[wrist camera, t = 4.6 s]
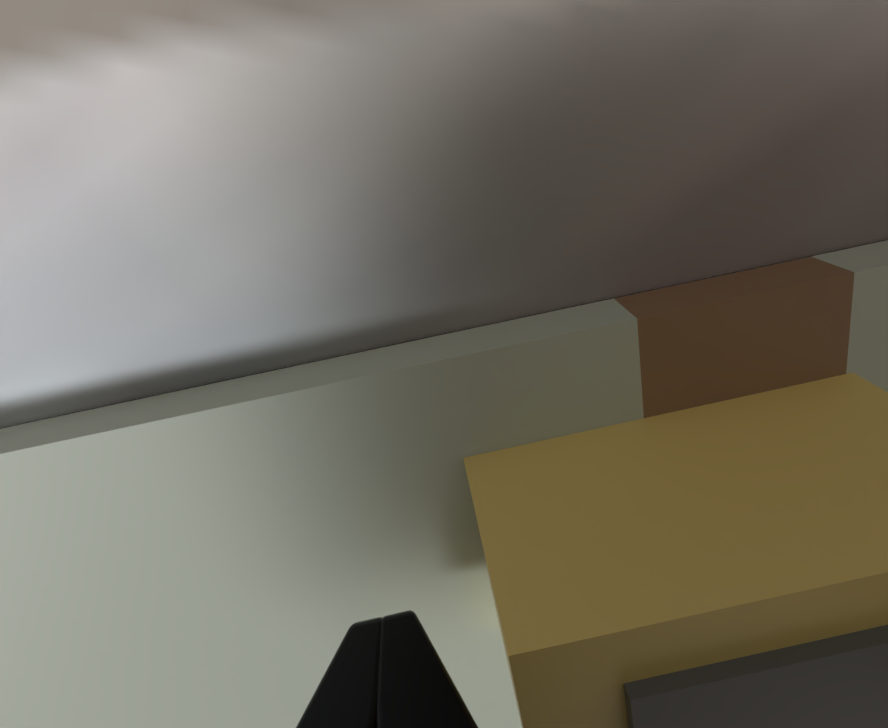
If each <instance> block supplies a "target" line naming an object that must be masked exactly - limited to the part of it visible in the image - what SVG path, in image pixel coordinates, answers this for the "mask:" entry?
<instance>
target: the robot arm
mask: <svg viewBox="0 0 888 728" xmlns="http://www.w3.org/2000/svg"><path fill="white" fill-rule="evenodd" d="M296 728H478V726H477V724H476V722H475V721H474V719H473V717H472V715H471V713H470V712H469V710H468V708H467V706H466V704H465V702H464V701H463V699H462V697H461V695H460V693H459V691H458V690H457V688H456V686H455V684H454V682H453V681H452V679H451V677H450V675H449V673H448V671H447V670H446V668H445V666H444V664H443V662H442V661H441V659H440V657H439V655H438V653H437V651H436V650H435V648H434V646H433V644H432V642H431V641H430V639H429V637H428V635H427V633H426V631H425V630H424V628H423V626H422V624H421V622H420V621H419V619H418V617H417V615H416V614H415V613H414V612H413V611H411V610H409V611H404V612H400V613H395V614H391V615H386V616H384V617H383V618H382V617H377V618H373V619H369V620H364V621H360V622H356V623H354V624H352V625H351V626H350V627H349V629H348V631H347V633H346V634H345V636H344V638H343V640H342V642H341V644H340V646H339V648H338V649H337V651H336V653H335V655H334V657H333V659H332V661H331V663H330V664H329V666H328V668H327V670H326V672H325V674H324V676H323V678H322V679H321V681H320V683H319V685H318V687H317V689H316V691H315V693H314V694H313V696H312V698H311V700H310V702H309V704H308V706H307V708H306V710H305V711H304V713H303V715H302V717H301V719H300V721H299V723H298V725H297V726H296Z"/></svg>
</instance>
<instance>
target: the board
mask: <svg viewBox="0 0 888 728" xmlns="http://www.w3.org/2000/svg"><path fill="white" fill-rule="evenodd" d="M849 373H855V374H856V375H858V376H860V377H862V378H863V379H865V380H867V381H869V382H870V383H872V384H874V385H876V386H877V387H879V388H881V389H883V390H884V391H886V392H888V240H886V241H882V242H877V243H872V244H868V245H863V246H858V247H853V248H849V249H844V250H839V251H835V252H830V253H825V254H820V255H816V256H811V257H806V258H802V259H797V260H792V261H788V262H783V263H778V264H773V265H769V266H764V267H759V268H755V269H750V270H745V271H740V272H736V273H731V274H726V275H722V276H717V277H712V278H707V279H703V280H698V281H693V282H689V283H684V284H679V285H674V286H670V287H665V288H660V289H656V290H651V291H646V292H642V293H637V294H632V295H627V296H623V297H618V298H613V299H609V300H604V301H599V302H594V303H590V304H585V305H580V306H576V307H571V308H566V309H561V310H557V311H552V312H547V313H543V314H538V315H533V316H529V317H524V318H519V319H514V320H510V321H505V322H500V323H496V324H491V325H486V326H481V327H477V328H472V329H467V330H463V331H458V332H453V333H448V334H444V335H439V336H434V337H430V338H425V339H420V340H416V341H411V342H406V343H401V344H397V345H392V346H387V347H383V348H378V349H373V350H368V351H364V352H359V353H354V354H350V355H345V356H340V357H335V358H331V359H326V360H321V361H317V362H312V363H307V364H303V365H298V366H293V367H288V368H284V369H279V370H274V371H270V372H265V373H260V374H255V375H251V376H246V377H241V378H237V379H232V380H227V381H222V382H218V383H213V384H208V385H204V386H199V387H194V388H190V389H185V390H180V391H175V392H171V393H166V394H161V395H157V396H152V397H147V398H142V399H138V400H133V401H128V402H124V403H119V404H114V405H109V406H105V407H100V408H95V409H91V410H86V411H81V412H76V413H72V414H67V415H62V416H58V417H53V418H48V419H44V420H39V421H34V422H29V423H25V424H20V425H15V426H11V427H6V428H1V429H0V728H296V726H297V725H298V723H299V721H300V719H301V717H302V715H303V713H304V711H305V710H306V708H307V706H308V704H309V702H310V700H311V698H312V696H313V694H314V693H315V691H316V689H317V687H318V685H319V683H320V681H321V679H322V678H323V676H324V674H325V672H326V670H327V668H328V666H329V664H330V663H331V661H332V659H333V657H334V655H335V653H336V651H337V649H338V648H339V646H340V644H341V642H342V640H343V638H344V636H345V634H346V633H347V631H348V629H349V627H350V626H351V625H352V624H354V623H356V622H360V621H364V620H369V619H373V618H377V617H382V618H383V617H384V616H386V615H391V614H395V613H400V612H404V611H409V610H411V611H413V612H414V613H415V614H416V615H417V617H418V619H419V621H420V622H421V624H422V626H423V628H424V630H425V631H426V633H427V635H428V637H429V639H430V641H431V642H432V644H433V646H434V648H435V650H436V651H437V653H438V655H439V657H440V659H441V661H442V662H443V664H444V666H445V668H446V670H447V671H448V673H449V675H450V677H451V679H452V681H453V682H454V684H455V686H456V688H457V690H458V691H459V693H460V695H461V697H462V699H463V701H464V702H465V704H466V706H467V708H468V710H469V712H470V713H471V715H472V717H473V719H474V721H475V722H476V724H477V726H478V728H522V726H521V721H520V717H519V712H518V708H517V703H516V699H515V694H514V690H513V685H512V681H511V676H510V672H509V667H508V663H507V658H506V654H505V649H504V645H503V641H502V636H501V632H500V627H499V622H498V618H497V613H496V608H495V604H494V599H493V594H492V590H491V585H490V580H489V576H488V571H487V566H486V562H485V557H484V552H483V548H482V543H481V539H480V534H479V529H478V525H477V520H476V515H475V511H474V506H473V501H472V497H471V492H470V487H469V483H468V478H467V473H466V469H465V464H464V459H463V458H465V457H469V456H474V455H478V454H483V453H487V452H492V451H497V450H501V449H506V448H510V447H515V446H519V445H524V444H529V443H533V442H538V441H542V440H547V439H551V438H556V437H561V436H565V435H570V434H574V433H579V432H583V431H588V430H593V429H597V428H602V427H606V426H611V425H615V424H620V423H625V422H629V421H634V420H638V419H643V418H647V417H652V416H657V415H661V414H666V413H670V412H675V411H679V410H684V409H689V408H693V407H698V406H702V405H707V404H711V403H716V402H721V401H725V400H730V399H734V398H739V397H743V396H748V395H753V394H757V393H762V392H766V391H771V390H775V389H780V388H785V387H789V386H794V385H798V384H803V383H807V382H812V381H817V380H821V379H826V378H830V377H835V376H839V375H844V374H849Z"/></svg>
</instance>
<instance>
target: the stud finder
mask: <svg viewBox="0 0 888 728" xmlns="http://www.w3.org/2000/svg"><path fill="white" fill-rule="evenodd" d="M463 459H464V464H465V469H466V473H467V478H468V483H469V487H470V492H471V497H472V501H473V506H474V511H475V515H476V520H477V525H478V529H479V534H480V539H481V543H482V548H483V552H484V557H485V562H486V566H487V571H488V576H489V580H490V585H491V590H492V594H493V599H494V604H495V608H496V613H497V618H498V622H499V627H500V632H501V636H502V641H503V645H504V649H505V654H506V658H507V663H508V667H509V672H510V676H511V681H512V685H513V690H514V694H515V699H516V703H517V708H518V712H519V717H520V721H521V726H522V728H888V392H886V391H884V390H883V389H881V388H879V387H877V386H876V385H874V384H872V383H870V382H869V381H867V380H865V379H863V378H862V377H860V376H858V375H856V374H855V373H849V374H844V375H839V376H835V377H830V378H826V379H821V380H817V381H812V382H807V383H803V384H798V385H794V386H789V387H785V388H780V389H775V390H771V391H766V392H762V393H757V394H753V395H748V396H743V397H739V398H734V399H730V400H725V401H721V402H716V403H711V404H707V405H702V406H698V407H693V408H689V409H684V410H679V411H675V412H670V413H666V414H661V415H657V416H652V417H647V418H643V419H638V420H634V421H629V422H625V423H620V424H615V425H611V426H606V427H602V428H597V429H593V430H588V431H583V432H579V433H574V434H570V435H565V436H561V437H556V438H551V439H547V440H542V441H538V442H533V443H529V444H524V445H519V446H515V447H510V448H506V449H501V450H497V451H492V452H487V453H483V454H478V455H474V456H469V457H465V458H463Z"/></svg>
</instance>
